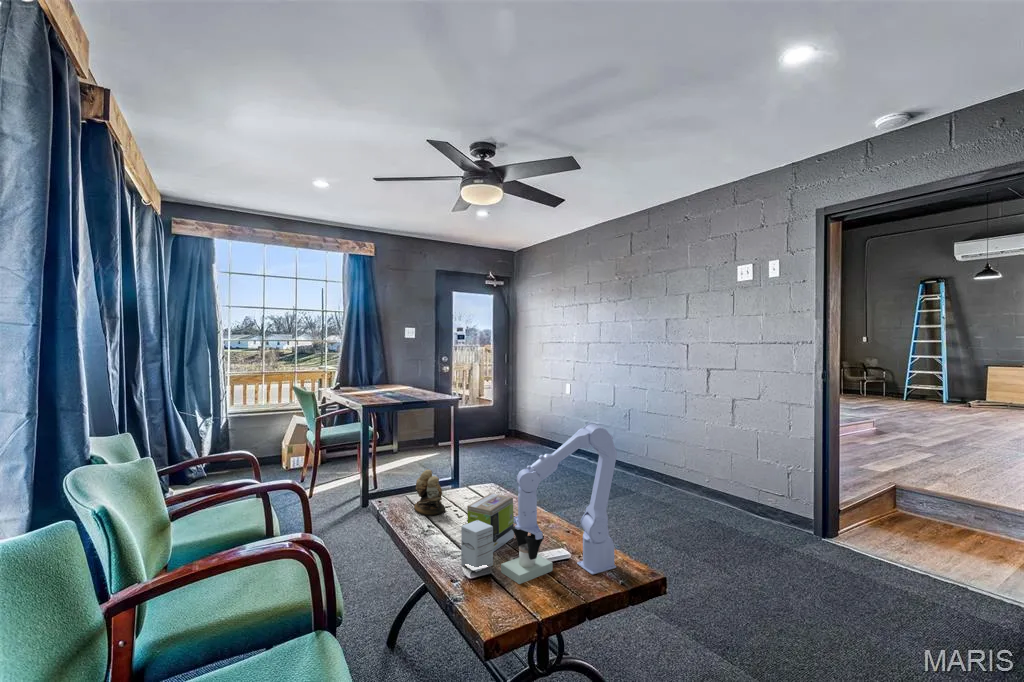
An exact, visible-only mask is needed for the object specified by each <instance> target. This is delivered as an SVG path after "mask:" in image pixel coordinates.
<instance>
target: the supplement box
mask: <svg viewBox="0 0 1024 682" xmlns="http://www.w3.org/2000/svg"><path fill="white" fill-rule="evenodd" d="M460 527H461V535H460V536H461V538H460V539H461V541H460V542H461V543H460V544H461V545H460V546H461V547H460V548H461V550H460V551H461V553H460V558H461V563H460V564H461V566H463V565H465V564H469V565H471V566H474V567H479V566H482V565H487V566H490V567H492V566H493V565H494V557H493V556H494V552H493V526H491V525H489V524H486V523H484V522H481V521H479V520H476V521H473V522H471V523H468V522H467V523H466V524H463V525H461V526H460ZM463 567H464V566H463Z"/></svg>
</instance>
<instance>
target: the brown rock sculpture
mask: <svg viewBox="0 0 1024 682" xmlns="http://www.w3.org/2000/svg"><path fill="white" fill-rule="evenodd" d="M415 490H416V492H417V494H418V497H420V499H419V500H417V502H416V503H415V504H414V506H413V510H414V511H415V513H417V514H419V515H420V514H421V516H424V515H425V516H426V517H431V516H432V517H433V516H437V515H442V513H443V512H444V513H445V511H446V507H445V505H444V504H443V503H442V501H443V500H442V499H443V498H442V495H443V489H442V486H441V485H440V479H439V476H436V475H433V470H431V469H426V470H424V471H423V472H422V473H421V474H420V476H419V477H418V478H417V479H416V483H415ZM444 513H443V514H444Z"/></svg>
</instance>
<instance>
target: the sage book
mask: <svg viewBox="0 0 1024 682" xmlns="http://www.w3.org/2000/svg"><path fill="white" fill-rule="evenodd" d="M553 569H554V568H553V562H552V561H550V560H549V559H547V558H546V557H543V556H542V555H539V553H538V554H537V558H536V564H535V566H534V567H530V568H525V567H522V566H520V565H519V557H517V558H514V559H512V560H508V561H506V562H505V561H504V562H503V563H501V564H500V573H501V574H503V575H505V576H506V577H508V578H509V579H511V580H512V581H514V582H515V583H517V584H518V585H521V584H523V583H526V582H529V581H531V580H533V579H536V578H538V577H541V576H544V575H546V574H548V573H551V572H553Z"/></svg>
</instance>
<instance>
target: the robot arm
mask: <svg viewBox="0 0 1024 682" xmlns="http://www.w3.org/2000/svg"><path fill="white" fill-rule="evenodd" d="M613 439H614V438H613V436H612V434H610V433H609V431H608V430H607V429H606V428H604V427H601V426H600V425H598V424H597V423H594V422H589V423H588V422H587V423H586V424H585V425H584V426H583V427H581V428H579V429H578V430H577V431H576V432H575V433H574V434H573V435H572V436H570V437H569V438H568V439H567V440H566V441H565V442H564V443H563V444H561V446H558V448H557V449H555V450H554V451H553V452H552V453H545V454H544V455H543V454H540V455H539V456H538V459H537V460H536V461H534V462H533V463H532V464H531V465H529V464H528V465H527V466H526V468H523V469H521V470H519V472H518V474H517V476H516V478H515V480H516V482H517V484H518V489H517V490H518V491H517V492H518V494H517V516H513V517H514V524H515V525H514V527H512V530H513V532H514V537H515V539H516V543H517V548H518V549H519V546H520V545H522V544H527V545H528V553H529V558H530V560H532V559H536V558H537V554H538V555H539V549H540V546H541V544H542V542H543V541H544V539H545V537H544V536H545V535H544V534H543V531H542V530H541V528H540V526H539V525H538V510H537V509H538V507H537V505H538V503H537V502H538V498H537V497H538V496H537V495H538V494H537V489H538V488H539V486H540V483H541V482H543V481H544V480H545V479H546V478H547V477H550V476H551V474H553V473H554V472H555V471H557V470H558V467H559V466H558V465H559V463H560V462H562V461H563V460H564V459H566V458H567V457H569V456H571V454H573V453H575V452H576V451H577V450H578V449H592V448H593V450H595V452H596V453H597V454H598V459H597V460H598V461H597V464H596V470H595V476H594V480H593V485H592V489H591V490H592V492H591V497H590V500H589V501H590V502H589V504H588V505H587V506H586V507H585V512H584V514H583V515H582V517H581V519H580V527H581V528H582V529H583V530H584V531H583V533H582V560H580V561H577V562H576V564H577V565H578V566H580V567H581V568H582V569H583V570H584V571H586V572H588V573H589V574H590V575H596V574H600V573H603V572H606V571H610V570H613V569H616V568H617V566H616V565H615V544H614V543H615V542H614V541H613V538H612V537H610V531H609V525H608V524H609V516H608V513H607V509H608V504H609V503H608V502H609V499H610V493H611V487H612V483H613V477H614V472H615V468H616V467H615V466H616V461H617V457H618V452H617V449H616V447H615V443H614V441H613ZM591 446H592V448H591ZM528 534H530V535H528Z"/></svg>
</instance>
